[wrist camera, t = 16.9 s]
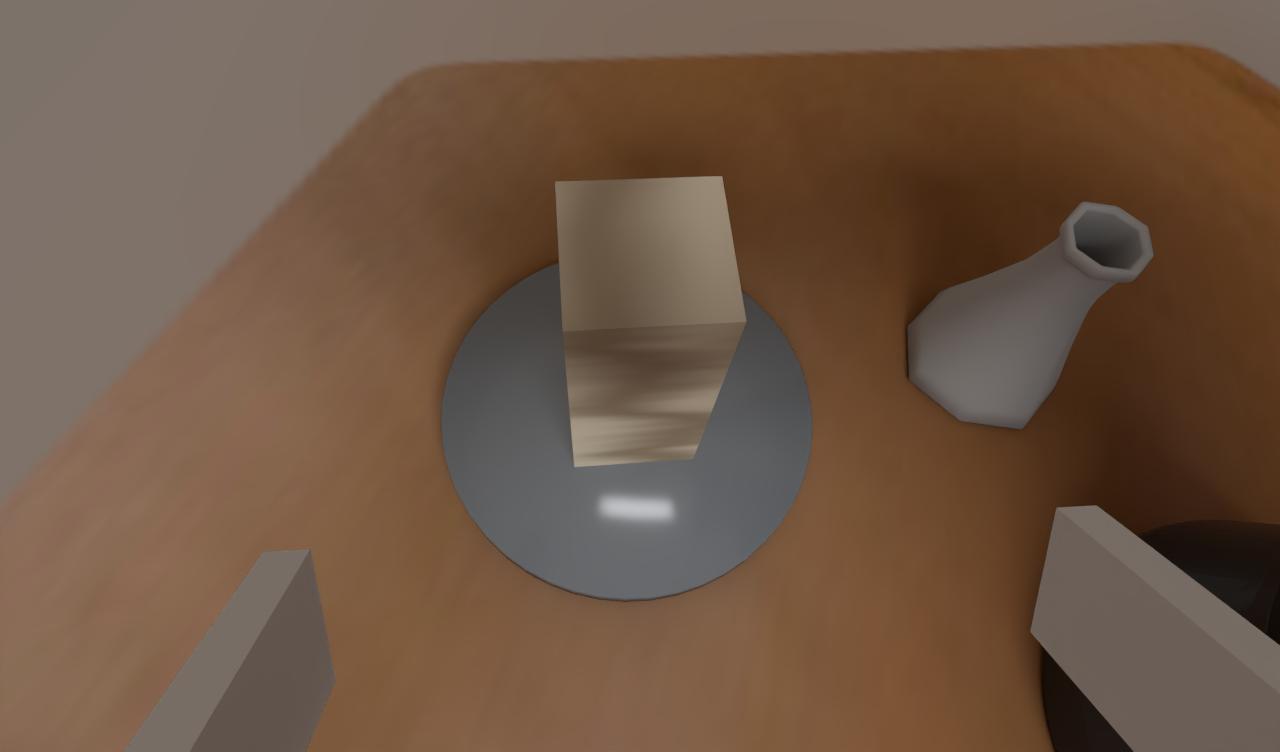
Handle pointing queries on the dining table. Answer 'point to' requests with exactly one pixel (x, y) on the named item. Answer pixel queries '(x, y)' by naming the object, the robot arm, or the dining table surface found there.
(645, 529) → the plate
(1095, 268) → the flask
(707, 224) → the birch block
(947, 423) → the dining table surface
